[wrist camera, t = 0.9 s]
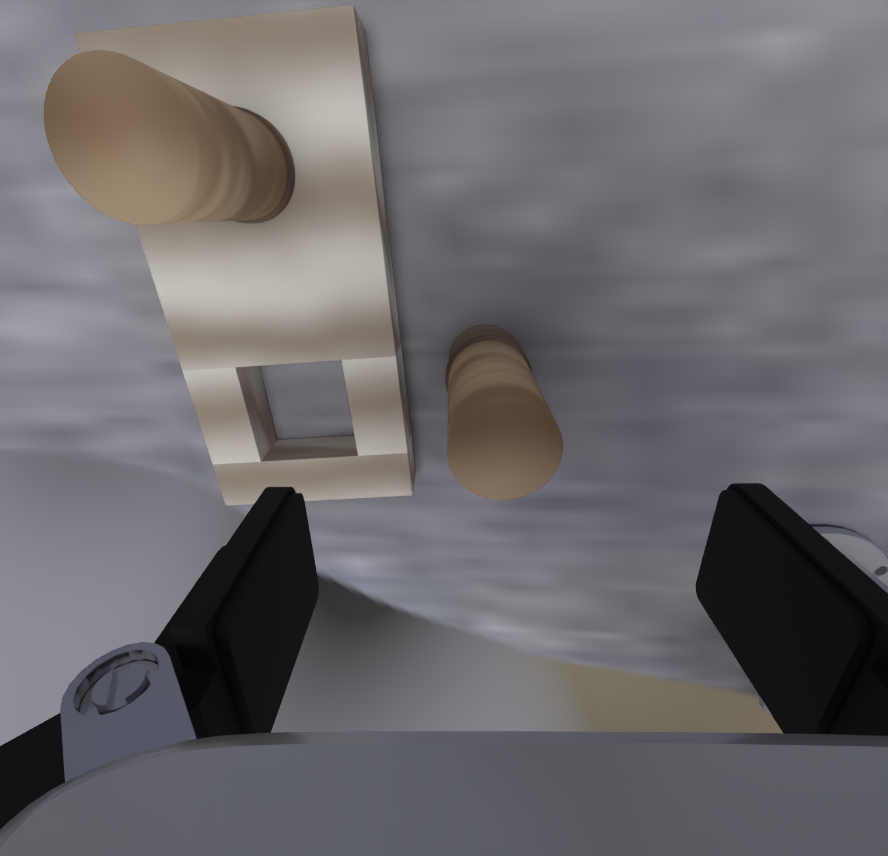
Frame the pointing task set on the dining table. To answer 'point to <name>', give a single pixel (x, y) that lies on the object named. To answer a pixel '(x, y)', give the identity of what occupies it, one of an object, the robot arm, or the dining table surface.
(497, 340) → the oak peg
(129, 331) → the dining table surface
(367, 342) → the board
